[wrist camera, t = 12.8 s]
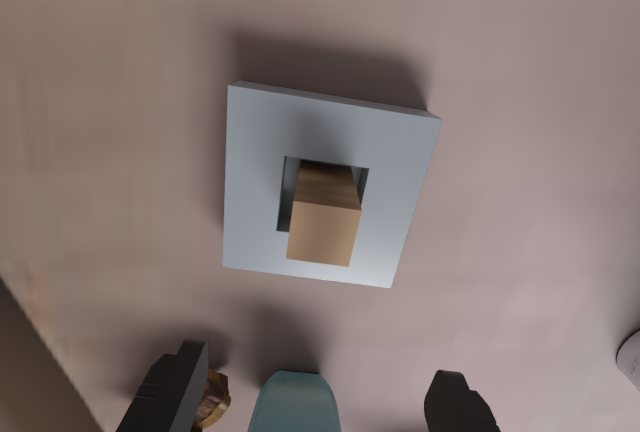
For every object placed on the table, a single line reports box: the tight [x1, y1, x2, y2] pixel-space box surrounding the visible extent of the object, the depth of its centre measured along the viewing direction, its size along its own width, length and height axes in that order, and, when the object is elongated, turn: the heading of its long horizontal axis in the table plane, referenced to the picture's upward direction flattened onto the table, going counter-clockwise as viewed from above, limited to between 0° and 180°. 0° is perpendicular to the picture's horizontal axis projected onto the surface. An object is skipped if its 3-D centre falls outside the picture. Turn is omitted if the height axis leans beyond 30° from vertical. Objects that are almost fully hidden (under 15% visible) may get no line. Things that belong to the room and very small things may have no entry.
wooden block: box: [286, 160, 362, 267], centre depth 24 cm, size 4×4×8 cm
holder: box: [223, 80, 442, 288], centre depth 26 cm, size 14×14×4 cm
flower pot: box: [247, 370, 341, 432], centre depth 35 cm, size 9×9×9 cm
